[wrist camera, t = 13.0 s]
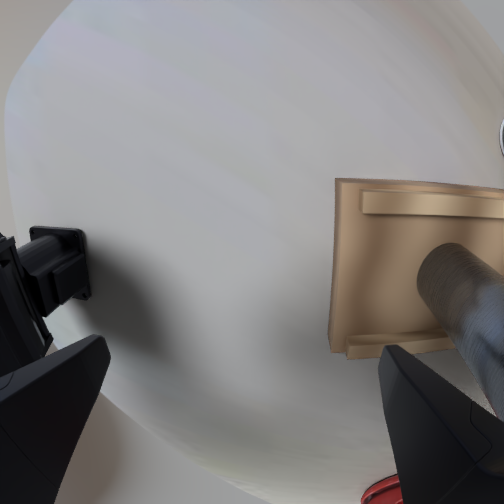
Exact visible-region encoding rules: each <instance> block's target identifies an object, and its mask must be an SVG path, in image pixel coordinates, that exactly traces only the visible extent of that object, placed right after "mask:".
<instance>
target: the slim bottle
mask: <svg viewBox="0 0 504 504" xmlns="http://www.w3.org/2000/svg"><path fill="white" fill-rule="evenodd" d="M417 290H418V293H419V295H420V297H421V298H422V300H423V301H424V302H425V304H426V305H427V307H428V308H429V309H430V311H431V312H432V314H433V315H434V316H435V318H436V319H437V321H438V322H439V323H440V325H441V326H442V328H443V329H444V331H445V332H446V334H447V335H448V337H449V338H450V340H451V341H452V342H453V344H454V346H455V347H456V349H457V350H458V352H459V353H460V355H461V356H462V358H463V359H464V361H465V363H466V364H467V366H468V367H469V369H470V371H471V372H472V374H473V375H474V377H475V379H476V380H477V382H478V384H479V386H480V387H481V389H482V391H483V392H484V394H485V396H486V398H487V399H488V401H489V403H490V405H491V407H492V408H493V410H494V412H495V414H496V416H497V418H499V419H500V420H502V421H503V422H504V277H503V276H502V275H501V274H500V273H498V272H497V271H496V270H495V269H493V268H492V267H491V266H489V265H488V264H487V263H485V262H484V261H483V260H481V259H480V258H479V257H477V256H476V255H475V254H473V253H472V252H471V251H469V250H468V249H466V248H465V247H464V246H462V245H460V244H458V243H453V242H451V243H445V244H442V245H440V246H438V247H436V248H435V249H433V250H432V251H431V252H430V253H429V254H428V255H427V256H426V258H425V259H424V260H423V262H422V264H421V266H420V268H419V271H418V275H417Z"/></svg>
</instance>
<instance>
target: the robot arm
mask: <svg viewBox="0 0 504 504" xmlns="http://www.w3.org/2000/svg"><path fill="white" fill-rule="evenodd" d="M29 232H30V239H31V242H29V243H27V244H25V245H24V246H22V247H20V248H18V249H16V246H15V243H16V242H15V239H14V236H12V237H8V238H6V237H5V236H3V235H2V234H1V233H0V504H54V502H55V499H56V496H57V494H58V491H59V488H60V485H61V482H62V480H63V477H64V475H65V472H66V469H67V467H68V464H69V462H70V459H71V457H72V454H73V452H74V450H75V447H76V445H77V442H78V440H79V438H80V435H81V433H82V431H83V428H84V426H85V423H86V422H87V419H88V417H89V415H90V412H91V410H92V408H93V406H94V404H95V402H96V399H97V397H98V395H99V392H100V389H101V386H102V383H103V380H104V378H105V375H106V372H107V369H108V366H109V364H110V360H111V355H110V352H109V349H108V346H107V343H106V341H105V338H104V337H103V336H101V335H94V334H93V335H90V336H88V337H86V338H84V339H82V340H80V341H77V342H75V343H73V344H71V345H69V346H67V347H65V348H63V349H60V350H58V351H56V352H54V353H52V354H50V355H48V356H46V357H45V355H46V352H47V351H48V349H49V347H50V345H51V343H52V341H53V337H52V335H51V333H49V331H48V329H47V326H46V324H45V322H44V320H43V318H42V317H47V316H49V315H50V314H51V313H52V312H53V311H54V310H55V309H56V308H58V307H59V306H60V305H63V304H64V303H66V302H67V301H68V300H69V299H70V298H71V297H72V298H77V299H82V300H88V299H89V298H90V297H91V291H90V286H89V280H88V274H87V268H86V262H85V255H84V248H83V240H82V233H81V231H80V230H79V229H72V228H58V227H43V226H33V227H31V228H30V230H29ZM75 234H76V235H77V237H76V235H75ZM85 294H86V295H87V296H86V295H85ZM378 372H379V379H380V386H381V393H382V401H383V409H384V415H385V419H386V424H387V428H388V432H389V436H390V440H391V445H392V449H393V454H394V458H395V463H396V468H397V473H398V478H399V483H400V488H401V494H402V500H403V504H504V422H503V421H502V420H500V419H499V418H497V417H495V416H494V415H492V414H491V413H490V412H488V411H487V410H485V409H484V408H483V407H481V406H480V405H479V404H477V403H476V402H475V401H472V399H470V398H469V397H468V396H466V395H465V394H464V393H462V392H461V391H460V390H458V389H457V388H456V387H454V386H453V385H452V384H450V383H449V382H448V381H446V380H445V379H444V378H442V377H441V376H440V375H438V374H437V373H436V372H434V371H433V370H432V369H430V368H429V367H428V366H426V365H425V364H423V363H422V362H421V361H419V360H418V359H417V358H415V357H414V356H413V355H411V354H410V353H409V352H407V351H406V350H405V349H403V348H402V347H400V346H399V345H397V344H390V345H385V346H384V347H383V350H382V354H381V358H380V362H379V367H378Z"/></svg>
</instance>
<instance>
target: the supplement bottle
mask: <svg viewBox="0 0 504 504" xmlns="http://www.w3.org/2000/svg"><path fill="white" fill-rule="evenodd" d="M500 145H501V149H502V152H503V155H504V119H503V122H502V124H501V128H500Z"/></svg>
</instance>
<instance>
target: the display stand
mask: <svg viewBox="0 0 504 504" xmlns="http://www.w3.org/2000/svg"><path fill="white" fill-rule="evenodd" d="M451 242H453V243H458V244H460V245H462V246H464V247H465V248H466V249H468V250H469V251H471V252H472V253H473V254H475V255H476V256H477V257H479V258H480V259H481V260H483V261H484V262H485V263H487V264H488V265H489V266H491V267H492V268H493V269H495V270H496V271H497V272H498V273H500V274H501V275H502V276H503V277H504V190H503V189H495V188H487V187H478V186H469V185H459V184H448V183H435V182H422V181H405V180H385V179H355V178H335V226H334V253H333V272H332V288H331V301H330V314H329V325H328V338H329V343H330V349H331V353H340V352H346V356H347V360H348V359H364V358H378V357H381V354H382V350H383V347H384V346H385V345H390V344H397V345H399V346H400V347H402V348H403V349H405V350H406V351H407V352H409V353H410V354H418V353H426V352H433V351H440V350H447V349H454V348H456V347H455V346H454V344H453V342H452V341H451V340H450V338H449V337H448V335H447V334H446V332H445V331H444V329H443V328H442V326H441V325H440V323H439V322H438V321H437V319H436V318H435V316H434V315H433V314H432V312H431V311H430V309H429V308H428V307H427V305H426V304H425V302H424V301H423V300H422V298H421V297H420V295H419V293H418V290H417V275H418V271H419V268H420V266H421V264H422V262H423V260H424V259H425V258H426V256H427V255H428V254H429V253H430V252H431V251H432V250H433V249H435V248H436V247H438V246H440V245H442V244H445V243H451Z"/></svg>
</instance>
